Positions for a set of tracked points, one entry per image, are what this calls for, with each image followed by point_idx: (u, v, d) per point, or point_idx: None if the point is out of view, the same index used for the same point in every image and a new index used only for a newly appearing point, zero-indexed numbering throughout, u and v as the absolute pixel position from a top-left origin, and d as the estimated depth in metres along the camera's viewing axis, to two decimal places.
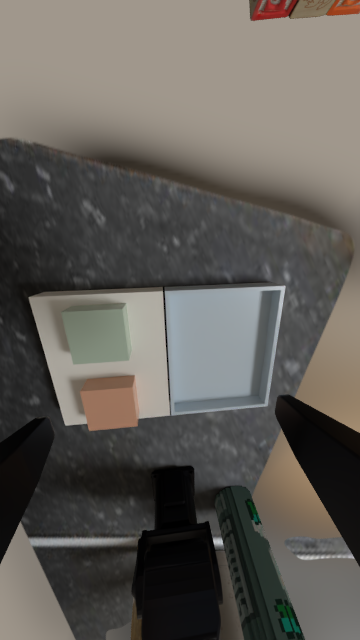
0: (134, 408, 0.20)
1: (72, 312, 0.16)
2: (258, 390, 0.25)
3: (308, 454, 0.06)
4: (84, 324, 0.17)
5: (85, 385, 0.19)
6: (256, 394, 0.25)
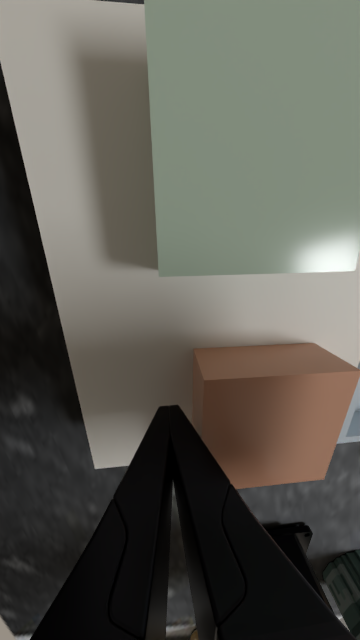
0: (336, 434, 0.07)
1: None
2: None
3: (173, 470, 0.06)
4: (240, 55, 0.03)
5: (204, 363, 0.06)
6: None
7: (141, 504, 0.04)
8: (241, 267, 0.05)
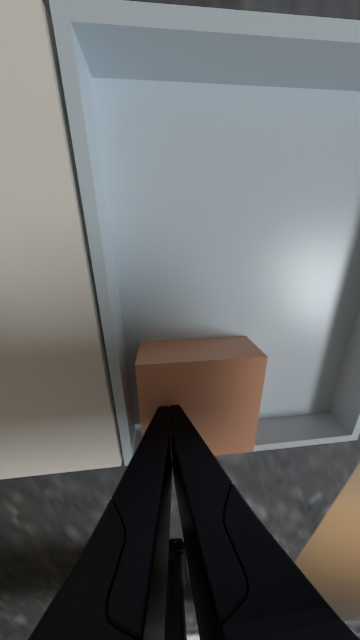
0: (257, 411, 0.08)
1: None
2: (329, 401, 0.11)
3: (174, 470, 0.06)
4: None
5: (142, 352, 0.08)
6: (324, 410, 0.11)
7: (140, 504, 0.04)
8: None
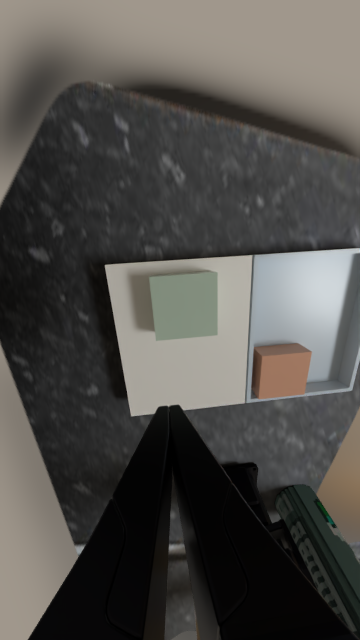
0: (306, 375, 0.20)
1: (161, 277, 0.14)
2: (337, 374, 0.22)
3: (174, 470, 0.06)
4: (173, 291, 0.14)
5: (260, 351, 0.19)
6: (335, 378, 0.23)
7: (140, 504, 0.04)
8: (180, 336, 0.16)
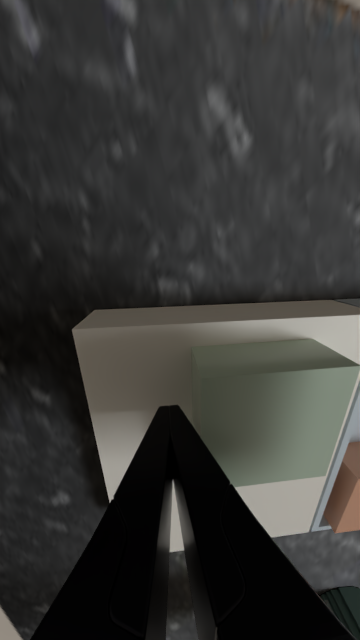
0: None
1: (231, 378, 0.06)
2: None
3: (173, 470, 0.06)
4: (252, 406, 0.06)
5: (346, 462, 0.11)
6: None
7: (141, 504, 0.04)
8: (252, 481, 0.07)
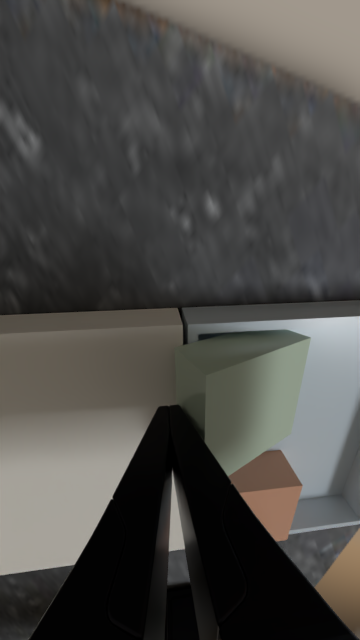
0: (291, 515, 0.11)
1: (230, 368, 0.06)
2: (342, 487, 0.14)
3: (173, 470, 0.06)
4: (245, 390, 0.07)
5: None
6: (337, 493, 0.14)
7: (140, 504, 0.04)
8: (244, 461, 0.08)
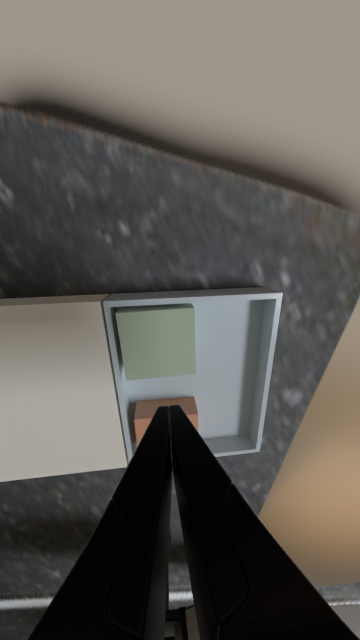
0: None
1: (130, 313, 0.12)
2: (248, 428, 0.19)
3: (174, 470, 0.06)
4: (143, 328, 0.13)
5: (138, 410, 0.16)
6: (245, 433, 0.19)
7: (140, 504, 0.04)
8: (154, 375, 0.14)
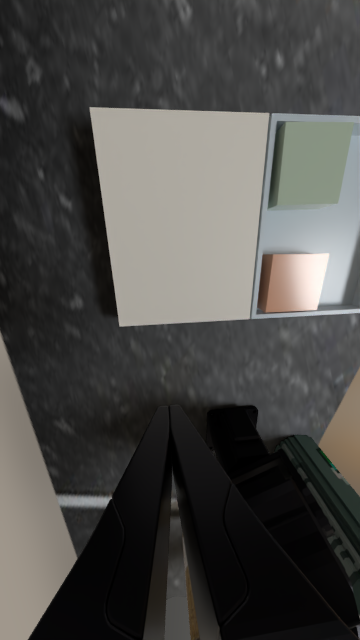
0: (321, 284, 0.17)
1: (298, 123, 0.13)
2: (352, 297, 0.20)
3: (174, 470, 0.06)
4: (305, 143, 0.14)
5: (270, 254, 0.17)
6: (349, 302, 0.20)
7: (140, 504, 0.04)
8: (302, 202, 0.15)
